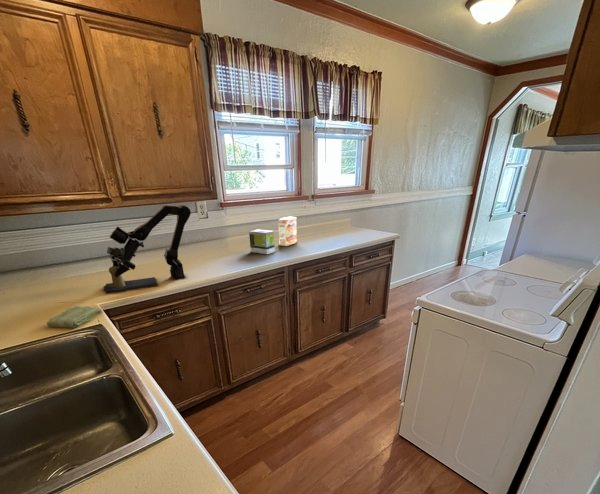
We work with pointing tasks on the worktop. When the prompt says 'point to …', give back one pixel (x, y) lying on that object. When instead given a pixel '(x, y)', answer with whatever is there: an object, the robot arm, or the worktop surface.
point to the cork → (116, 278)
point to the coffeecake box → (287, 231)
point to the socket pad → (131, 285)
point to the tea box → (262, 241)
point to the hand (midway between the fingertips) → (113, 275)
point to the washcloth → (73, 317)
